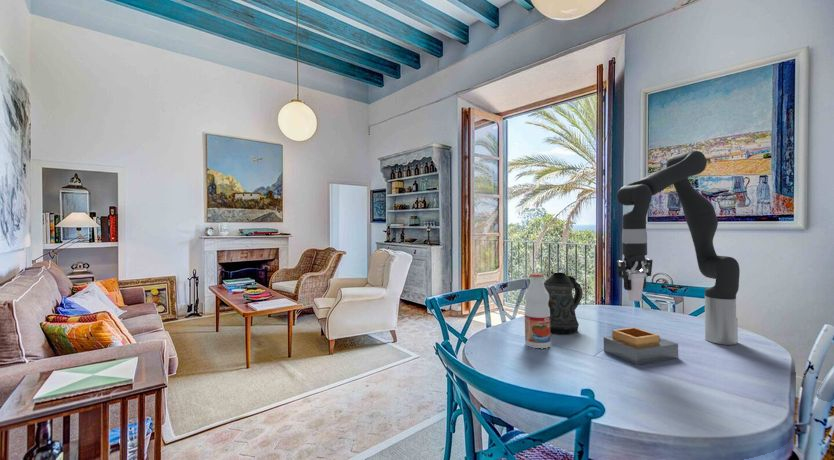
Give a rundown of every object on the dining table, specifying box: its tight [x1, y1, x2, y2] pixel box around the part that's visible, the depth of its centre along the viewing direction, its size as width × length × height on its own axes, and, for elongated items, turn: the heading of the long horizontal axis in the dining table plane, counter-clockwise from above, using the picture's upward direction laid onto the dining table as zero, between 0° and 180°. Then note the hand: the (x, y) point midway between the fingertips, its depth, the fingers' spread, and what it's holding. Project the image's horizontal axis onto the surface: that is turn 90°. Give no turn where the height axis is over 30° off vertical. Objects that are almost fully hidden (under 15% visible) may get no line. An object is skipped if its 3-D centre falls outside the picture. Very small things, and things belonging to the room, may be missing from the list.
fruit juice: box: [524, 272, 552, 350], centre depth 136 cm, size 9×9×28 cm
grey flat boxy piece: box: [603, 326, 679, 366], centre depth 125 cm, size 21×14×8 cm, turn 106°
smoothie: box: [626, 270, 645, 302], centre depth 124 cm, size 6×6×14 cm
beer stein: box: [543, 272, 583, 336], centre depth 157 cm, size 16×19×25 cm
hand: (635, 289), depth 124 cm, fingers closed on smoothie, 6 cm apart
